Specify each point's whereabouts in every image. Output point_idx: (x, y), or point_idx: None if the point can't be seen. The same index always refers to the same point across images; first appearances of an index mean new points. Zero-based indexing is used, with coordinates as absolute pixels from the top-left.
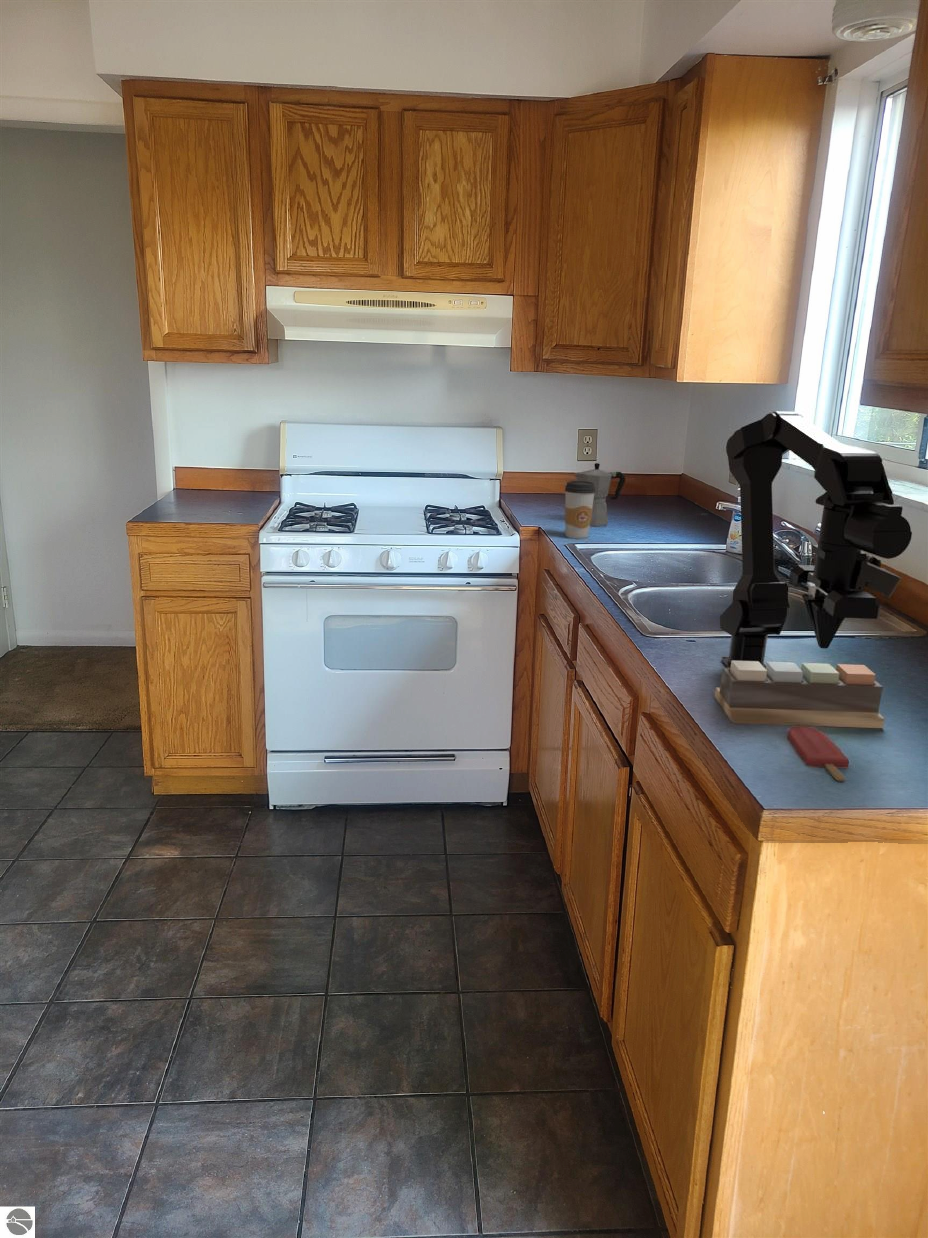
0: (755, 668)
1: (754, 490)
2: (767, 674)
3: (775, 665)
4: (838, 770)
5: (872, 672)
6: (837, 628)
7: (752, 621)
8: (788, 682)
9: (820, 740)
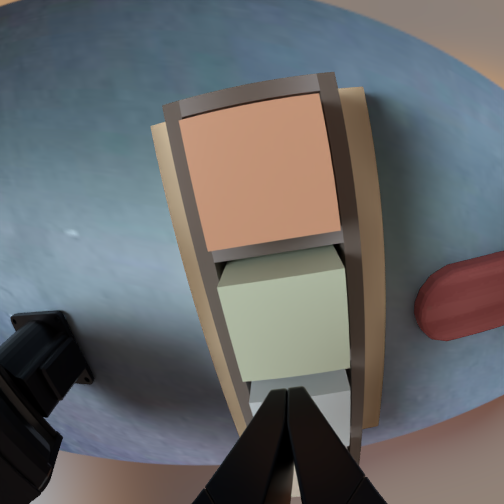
0: None
1: None
2: None
3: None
4: None
5: (290, 100)
6: (372, 485)
7: (45, 458)
8: (355, 397)
9: (488, 288)
